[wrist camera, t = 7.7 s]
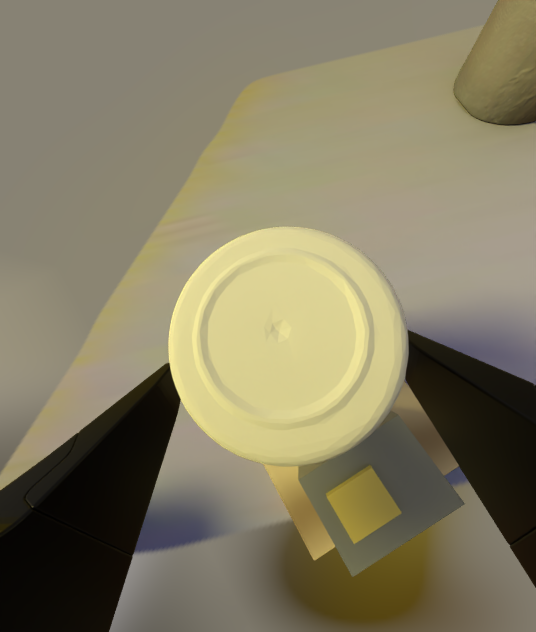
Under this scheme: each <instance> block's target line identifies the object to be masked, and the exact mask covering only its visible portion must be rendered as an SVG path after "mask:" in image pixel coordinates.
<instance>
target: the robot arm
mask: <svg viewBox="0 0 536 632" xmlns="http://www.w3.org/2000/svg"><path fill="white" fill-rule="evenodd" d="M407 331H408V346H409V355H408V362H407V368H406V376H405V379H406V381H407V383H408V385H409V387H410V389H411V390H412V392H413V394H414V395H415V397H416V398H417V400H418V402H419V403H420V405H421V406H422V408H423V410H424V411H425V413H426V414H427V416H428V417H429V419H430V421H431V422H432V424H433V425H434V427H435V429H436V430H437V432H438V433H439V435H440V437H441V438H442V440H443V441H444V443H445V444H446V446H447V448H448V449H449V451H450V452H451V454H452V456H453V457H454V459H455V460H456V462H457V463H458V465H459V467H460V468H461V470H462V471H463V473H464V475H465V476H466V478H467V479H468V481H469V482H470V484H471V486H472V487H473V489H474V490H475V492H476V494H477V495H478V497H479V498H480V500H481V501H482V503H483V505H484V506H485V507H486V509H487V511H488V513H489V514H490V516H491V517H492V519H493V520H494V522H495V524H496V525H497V527H498V528H499V530H500V531H501V533H502V535H503V536H504V538H505V539H506V541H507V542H508V544H509V545H510V548H511V549H512V551H513V552H514V554H515V556H516V557H517V559H518V560H519V562H520V563H521V565H522V567H523V568H524V570H525V571H526V573H527V574H528V576H529V578H530V579H531V581H532V583H533V584H534V586H535V587H536V385H534V384H533V383H531V382H529V381H526V380H524V379H522V378H519V377H517V376H515V375H512V374H510V373H508V372H505V371H503V370H501V369H498V368H496V367H493V366H491V365H489V364H486V363H484V362H482V361H479V360H477V359H475V358H472V357H470V356H468V355H465V354H463V353H461V352H458V351H456V350H454V349H451V348H449V347H447V346H444V345H442V344H440V343H437V342H435V341H433V340H430V339H428V338H425V337H423V336H421V335H418V334H416V333H414V332H411V331H409V330H407ZM180 400H181V399H180V396H179V394H178V391H177V389H176V387H175V384H174V381H173V378H172V373H171V368H170V363H166V364H165V365H163V366H162V367H161V368H160V369H158V370H157V371H156V372H155V373H153V374H152V375H151V376H149V377H148V378H147V379H146V380H144V381H143V382H142V383H141V384H139V385H138V386H137V387H135V388H134V389H133V390H132V391H130V392H129V393H128V394H126V395H125V396H124V397H123V398H121V399H120V400H119V401H118V402H116V403H115V404H114V405H112V406H111V407H110V408H109V409H107V410H106V411H105V412H104V413H102V414H101V415H100V416H98V417H97V418H96V419H95V420H93V421H92V422H91V423H89V424H88V425H87V426H86V427H84V428H83V429H82V430H81V431H80V432H79V433H77V434H75V435H74V436H73V437H72V438H70V439H69V440H68V441H66V442H65V443H64V444H63V445H61V446H60V447H59V448H57V449H56V450H55V451H53V452H52V453H51V454H50V455H48V456H47V457H46V458H44V459H43V460H41V461H40V462H39V463H37V464H36V465H35V466H33V467H32V468H31V469H29V470H28V471H27V472H25V473H24V474H22V475H21V476H20V477H18V478H17V479H15V480H14V481H13V482H11V483H10V484H9V485H7V486H6V487H4V488H3V489H2V490H0V632H109V630H110V627H111V624H112V620H113V617H114V614H115V611H116V608H117V605H118V601H119V598H120V595H121V592H122V589H123V585H124V583H125V579H126V576H127V573H128V570H129V566H130V564H131V560H132V555H133V554H134V550H135V547H136V544H137V541H138V538H139V535H140V531H141V528H142V525H143V522H144V519H145V516H146V512H147V509H148V506H149V503H150V500H151V497H152V493H153V490H154V487H155V484H156V481H157V478H158V474H159V471H160V468H161V465H162V462H163V459H164V455H165V452H166V449H167V446H168V443H169V440H170V437H171V433H172V430H173V427H174V424H175V421H176V417H177V414H178V410H179V405H180Z"/></svg>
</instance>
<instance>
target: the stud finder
mask: <svg viewBox="0 0 536 632" xmlns="http://www.w3.org/2000/svg"><path fill="white" fill-rule="evenodd" d="M298 480H299V482H300V484H301V486H302V488H303V489H304V491H305V493H306V495H307V497H308V498H309V500H310V502H311V504H312V506H313V507H314V509H315V511H316V513H317V514H318V516H319V518H320V520H321V522H322V523H323V525H324V527H325V529H326V531H327V532H328V534H329V536H330V538H331V539H332V541H333V543H334V545H335V547H336V548H337V550H338V552H339V554H340V555H341V557H342V559H343V561H344V563H345V564H346V566H347V568H348V570H349V572H350V573H351V575H352V577H353V576H355V575H356V574H358V573H360V572H361V571H363V570H364V569H366V568H367V567H369V566H370V565H372V564H373V563H375V562H376V561H378V560H379V559H381V558H382V557H384V556H386V555H387V554H389V553H390V552H392V551H393V550H394V549H396V548H398V547H399V546H401V545H403V544H404V543H406V542H407V541H409V540H410V539H412V538H413V537H415V536H416V535H418V534H419V533H421V532H423V531H424V530H426V529H427V528H429V527H430V526H432V525H433V524H435V523H436V522H438V521H439V520H441V519H442V518H444V517H445V516H447V515H449V514H450V513H452V512H453V511H455V510H456V509H458V508H459V507H461V506H462V505H464V502H463V501H462V499H461V498H460V497H459V496H458V494H457V493H456V491H455V490H454V489H453V487H452V486H451V485H450V483H449V482H448V481H447V479H446V478H445V477H444V475H443V474H442V473H441V471H440V470H439V469H438V467H437V466H436V465H435V463H434V462H433V460H432V459H431V458H430V456H429V455H428V454H427V452H426V451H425V450H424V448H423V447H422V446H421V444H420V443H419V442H418V440H417V439H416V438H415V436H414V435H413V434H412V432H411V431H410V430H409V428H408V427H407V426H406V424H405V423H404V421H403V420H402V419H401V417H400V416H399V415H398V414H396V413H394V412H392V411H391V410H390V412H389V414H388V415H387V416H386V418H385V419H384V420H383V422H382V423H381V424H380V426H379V427H378V428H377V429H376V430H375V431H374V432H373V433H372V434H371V435H370V436H369V437H367V438H366V439H365V440H364V441H362V442H361V443H360V444H359V445H357V446H355V447H354V448H352V449H350V450H349V451H347V452H345V453H344V454H341V455H339V456H337V457H335V458H333V459H330V460H327V461H324V462H321V463H317V464H312V465H306V466H298Z"/></svg>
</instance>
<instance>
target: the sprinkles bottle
mask: <svg viewBox="0 0 536 632" xmlns="http://www.w3.org/2000/svg"><path fill="white" fill-rule="evenodd" d="M168 350H169V362H170V368H171V373H172V378H173V381H174V384H175V387H176V389H177V391H178V394H179V396H180V399H181V401H182V403H183V404H184V406H185V408H186V410H187V411H188V413H189V414H190V415H191V417H192V418H193V419H194V421H195V422H196V423H197V425H198V426H199V427H200V428H201V429H202V430H203V431H204V432H205V433H206V434H207V435H208V436H209V437H211V438H212V439H213V440H214V441H215V442H217V443H218V444H219V445H221V446H222V447H223V448H225V449H227V450H229V451H231V452H233V453H234V454H236V455H238V456H241V457H243V458H245V459H248V460H252V461H255V462H259V463H262V464H266V465H273V466H281V467H292V466H306V465H312V464H317V463H321V462H324V461H327V460H330V459H333V458H335V457H337V456H339V455H341V454H344V453H345V452H347V451H349V450H350V449H352V448H354V447H355V446H357V445H359V444H360V443H361V442H362V441H364V440H365V439H366V438H367V437H369V436H370V435H371V434H372V433H373V432H374V431H375V430H376V429H377V428H378V427H379V426H380V424H381V423H382V422H383V420H384V419H385V418H386V416H387V415H388V414H389V412H390V410H391V409H392V407H393V405H394V403H395V401H396V399H397V398H398V395H399V393H400V391H401V388H402V386H403V383H404V380H405V376H406V368H407V362H408V355H409V346H408V331H407V325H406V320H405V316H404V312H403V309H402V306H401V304H400V301H399V299H398V297H397V295H396V293H395V291H394V289H393V287H392V285H391V283H390V282H389V280H388V279H387V278H386V276H385V275H384V273H383V272H382V271H381V270H380V269H379V268H378V266H377V265H376V264H375V263H374V262H373V261H372V260H370V259H369V258H368V257H367V256H366V255H365V254H364V253H363V252H362V251H360V250H359V249H357V248H356V247H355V246H353V245H352V244H350V243H348V242H346V241H344V240H342V239H340V238H338V237H336V236H334V235H331V234H328V233H326V232H322V231H319V230H314V229H309V228H302V227H290V226H289V227H274V228H268V229H262V230H258V231H255V232H251V233H249V234H246V235H243V236H240V237H238V238H236V239H234V240H232V241H230V242H229V243H227V244H225V245H224V246H222V247H221V248H219V249H218V250H217V251H215V252H214V253H212V254H211V255H210V256H209V257H208V258H207V259H206V260H205V261H204V262H203V263H202V264H201V265H200V266H199V267H198V268H197V270H196V271H195V272H194V273H193V275H192V276H191V277H190V279H189V280H188V282H187V283H186V285H185V287H184V288H183V290H182V292H181V294H180V296H179V299H178V301H177V303H176V306H175V309H174V312H173V316H172V320H171V325H170V332H169V348H168Z"/></svg>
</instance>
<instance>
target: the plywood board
mask: <svg viewBox="0 0 536 632" xmlns="http://www.w3.org/2000/svg"><path fill="white" fill-rule="evenodd" d="M391 411H392V412H394V413H396V414H398V415H399V416H400V417H401V419H402V420H403V421H404V423H405V424H406V426H407V427H408V428H409V430H410V431H411V432H412V434H413V435H414V436H415V438H416V439H417V440H418V442H419V443H420V444H421V446H422V447H423V448H424V450H425V451H426V452H427V454H428V455H429V456H430V458H431V459H432V460H433V462H434V463H435V465H436V466H437V467H438V469H439V470H440V471H441V473H442V474H443V475H444V476H445V475H446V474H448V473H449V472H451V471H452V470H454V469H455V468H457V467H459V465H458V463H457V462H456V460H455V459H454V457H453V456H452V454H451V452H450V451H449V449H448V448H447V446H446V444H445V443H444V441H443V440H442V438H441V437H440V435H439V433H438V432H437V430H436V429H435V427H434V425H433V424H432V422H431V421H430V419H429V417H428V416H427V414H426V413H425V411H424V410H423V408H422V406H421V405H420V403H419V402H418V400H417V398H416V397H415V395H414V394H413V392H412V390H411V389H410V387H409V386H408V385H407V384H406V382H405V381H404V383H403V386H402V388H401V391H400V393H399V395H398V398H397V399H396V401H395V403H394V405H393V407H392V409H391ZM263 465H264V466H265V468H266V470H267V472H268V474H269V476H270V478H271V480H272V482H273V484H274V485H275V487H276V489H277V491H278V493H279V495H280V497H281V499H282V501H283V503H284V504H285V506H286V508H287V510H288V512H289V514H290V516H291V518H292V520H293V522H294V523H295V525H296V527H297V529H298V531H299V532H300V535H301V537H302V539H303V541H304V542H305V544H306V546H307V548H308V550H309V552H310V554H311V556H312V558H313V560H316V559H317V558H319V557H320V556H322V555H324V554H325V553H327V552H328V551H330V550H331V549H333V548H334V547H335V545H334V543H333V541H332V539H331V538H330V536H329V534H328V532H327V531H326V529H325V527H324V525H323V523H322V522H321V520H320V518H319V516H318V514H317V513H316V511H315V509H314V507H313V506H312V504H311V502H310V500H309V498H308V497H307V495H306V493H305V491H304V489H303V488H302V486H301V484H300V482H299V480H298V466H292V467H281V466H273V465H266V464H263Z"/></svg>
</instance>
